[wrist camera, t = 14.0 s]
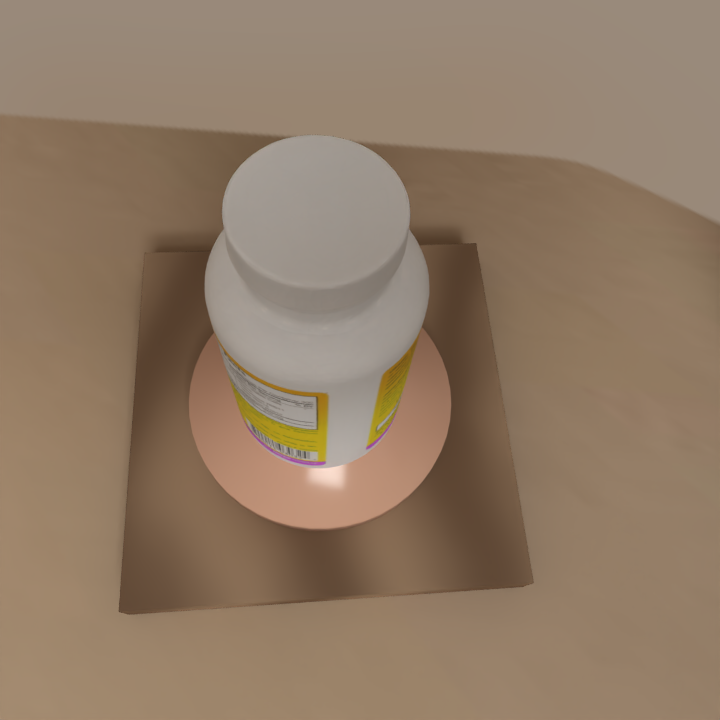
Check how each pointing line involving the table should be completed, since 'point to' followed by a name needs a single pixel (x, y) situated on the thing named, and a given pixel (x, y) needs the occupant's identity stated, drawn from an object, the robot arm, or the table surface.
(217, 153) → the table surface
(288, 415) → the supplement bottle
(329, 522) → the pink dome
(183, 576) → the square brown tray
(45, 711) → the table surface
